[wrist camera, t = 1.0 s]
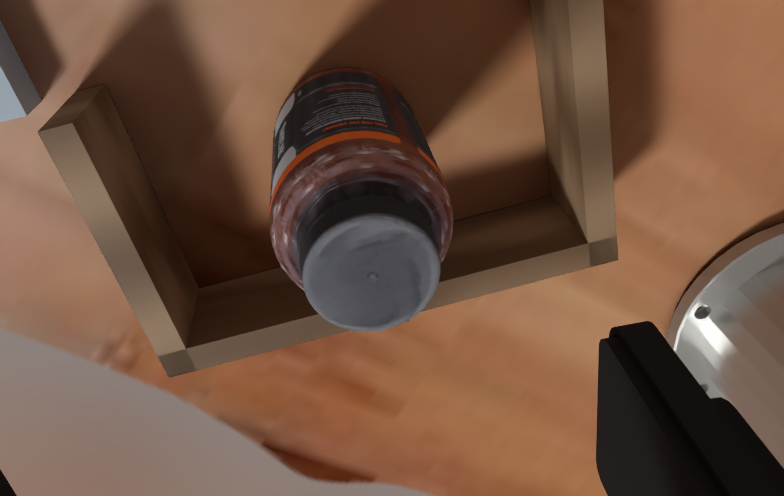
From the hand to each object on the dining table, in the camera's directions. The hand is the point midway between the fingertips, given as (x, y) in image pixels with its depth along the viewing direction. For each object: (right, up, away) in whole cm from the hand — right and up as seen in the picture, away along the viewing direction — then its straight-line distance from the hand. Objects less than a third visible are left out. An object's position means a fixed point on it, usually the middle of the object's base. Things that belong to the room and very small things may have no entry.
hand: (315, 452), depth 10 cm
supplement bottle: (-1, +8, +18) cm, 20 cm away
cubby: (-1, +8, +18) cm, 20 cm away
